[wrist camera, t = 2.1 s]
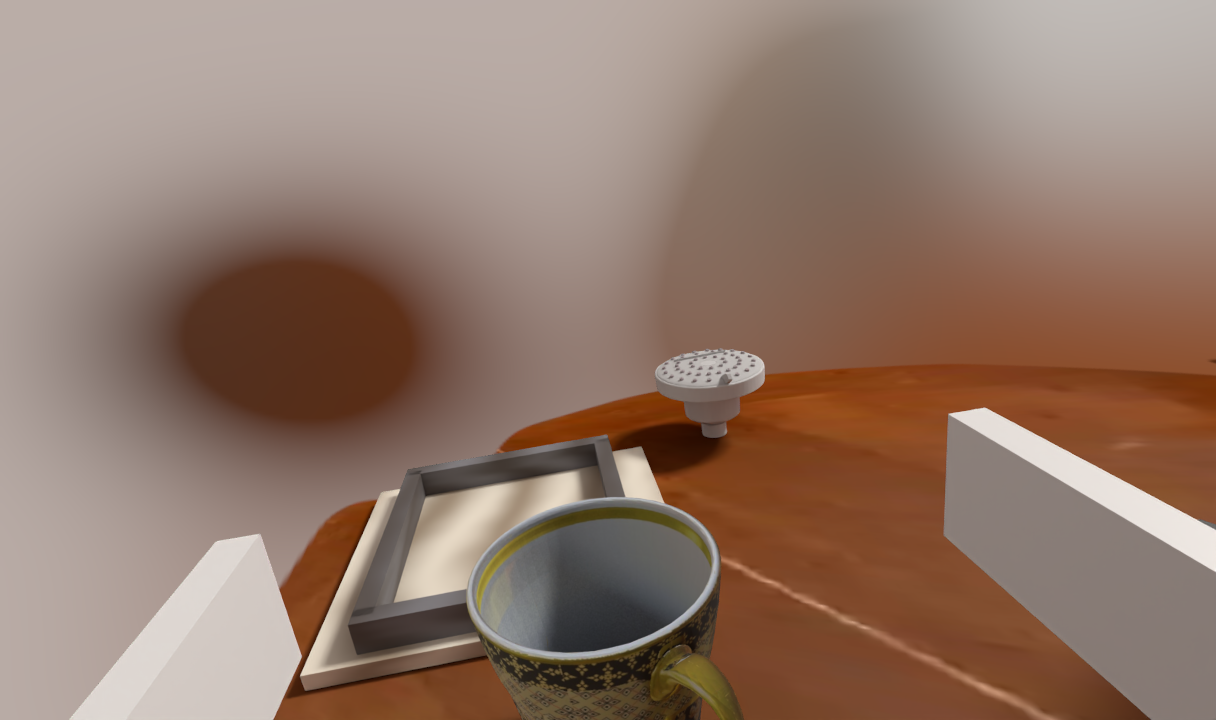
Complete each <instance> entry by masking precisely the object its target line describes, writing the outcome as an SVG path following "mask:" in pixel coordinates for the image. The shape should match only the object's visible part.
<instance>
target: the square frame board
mask: <svg viewBox="0 0 1216 720" xmlns="http://www.w3.org/2000/svg"><path fill="white" fill-rule="evenodd" d="M607 497H629V498H641V499H647V500H653V501H657V502H661V503H664V501H663V499H662V496H661V494H660V491H659V489H658V486H657V484H656V481H655V479H654V476H653V474H652V471H651V469H650V466H649V464H648V461H647V459H646V456H645V454H644V451H643V449H642V447H636V448H630V449H625V450H619V451H613V452H612V449H611V446H610V443H609V439H608V436H607V435H603V436H597V437H591V438H585V439H580V440H574V441H568V442H562V443H557V444H551V445H545V446H539V447H534V448H528V449H522V450H516V451H511V452H505V453H499V454H494V455H488V456H482V457H476V458H471V459H465V460H459V461H453V462H448V463H442V464H436V465H431V466H425V467H419V468H413V469H408V471H407V473H406V476H405V478H404V481H403V484H402V486H401V489H398V490H393V491H387V492H381V494H380V496H379V498H378V501H377V503H376V505H375V507H374V510H373V512H372V514H371V516H370V519H369V521H368V523H367V526H366V528H365V530H364V532H363V535H362V537H361V539H360V541H359V544H358V546H357V548H356V550H355V553H354V555H353V557H352V559H351V562H350V564H349V566H348V569H347V571H346V573H345V575H344V578H343V580H342V582H341V584H340V587H339V589H338V591H337V593H336V596H335V598H334V600H333V602H332V605H331V607H330V609H329V612H328V614H327V616H326V618H325V621H324V623H323V625H322V627H321V630H320V632H319V634H318V636H317V639H316V641H315V643H314V646H313V648H312V650H311V652H310V655H309V657H308V659H307V661H306V664H305V666H304V668H303V670H302V673H301V675H300V678H301V681H302V684H303V687H304V689H305V691H308V690H313V689H318V688H323V687H328V686H333V685H338V684H343V683H348V682H354V681H359V680H364V679H369V678H374V677H379V676H384V675H389V674H394V673H399V672H404V671H409V670H414V669H419V668H425V667H430V666H435V665H440V664H445V663H450V662H455V661H460V660H465V659H470V658H475V657H480V656H485V655H487V654H486V652H485V650H484V648H483V646H482V643H481V641H480V639H479V637H478V634H477V632H476V630H475V627H474V625H473V622H472V620H471V617H470V615H469V612H468V608H467V602H466V591H467V585H468V580H469V577H470V575H471V572H472V570H473V568H474V566H475V564H476V563H477V561H478V560H479V558H480V557H481V555H482V554H483V553H484V552H485V551H486V550H487V548H488V547H489V546H490V545H491V544H492V543H493V542H495V541H496V540H497V539H498V538H499V537H500V536H502V535H503V534H504V533H505V532H507V531H508V530H510V529H511V528H513V527H514V526H516V525H517V524H519V523H521V522H523V521H524V520H526V519H528V518H530V517H532V516H534V515H537V514H539V513H541V512H544V511H546V510H549V509H552V508H555V507H558V506H561V505H565V504H569V503H573V502H578V501H583V500H588V499H597V498H607Z"/></svg>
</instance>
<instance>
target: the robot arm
mask: <svg viewBox="0 0 1216 720" xmlns="http://www.w3.org/2000/svg"><path fill="white" fill-rule="evenodd" d="M944 536H945V537H946V538H947V539H948V540H950V541H951V542H952V543H953V544H954V545H955V546H956V547H957V548H959V549H960V550H961V551H962V552H963V553H964V554H965V555H966V556H968V557H969V558H970V559H971V560H972V561H973V562H974V563H975V564H977V565H978V566H979V567H980V568H981V569H982V570H983V571H984V572H986V573H987V574H988V575H989V576H990V577H991V578H992V579H993V580H995V581H996V582H997V583H998V584H999V585H1000V586H1001V587H1002V588H1004V589H1005V590H1006V591H1007V592H1008V593H1009V594H1010V595H1011V596H1013V597H1014V598H1015V599H1016V600H1017V601H1018V602H1019V603H1020V604H1022V605H1023V606H1024V607H1025V608H1026V609H1027V610H1028V611H1029V612H1031V613H1032V614H1033V615H1034V616H1035V617H1036V618H1037V619H1038V620H1040V621H1041V622H1042V623H1043V624H1044V625H1045V626H1046V627H1047V628H1049V629H1050V630H1051V631H1052V632H1053V633H1054V634H1055V635H1056V636H1058V637H1059V638H1060V639H1061V640H1062V641H1063V642H1064V643H1065V644H1067V645H1068V646H1069V647H1070V648H1071V649H1072V650H1073V651H1075V652H1076V653H1077V654H1078V655H1079V656H1080V657H1081V658H1082V659H1084V660H1085V661H1086V662H1087V663H1088V664H1089V665H1090V666H1091V667H1093V668H1094V669H1095V670H1096V671H1097V672H1098V673H1099V674H1100V675H1102V676H1103V677H1104V678H1105V679H1106V680H1107V681H1108V682H1109V683H1111V684H1112V685H1113V686H1114V687H1115V688H1116V689H1117V690H1118V691H1120V692H1121V693H1122V694H1123V695H1124V696H1125V697H1126V698H1127V699H1129V700H1130V701H1131V702H1132V703H1133V704H1134V705H1135V706H1136V707H1138V708H1139V709H1140V710H1141V711H1142V712H1143V713H1144V714H1145V715H1147V716H1148V717H1149V718H1150V719H1151V720H1216V525H1215V524H1212V523H1209V522H1206V521H1203V520H1196V519H1194V518H1192V517H1190V516H1188V515H1187V514H1185V513H1183V512H1181V511H1179V510H1177V509H1175V508H1173V507H1171V506H1170V505H1168V504H1166V503H1164V502H1162V501H1160V500H1158V499H1156V498H1154V497H1153V496H1151V495H1149V494H1147V493H1145V492H1143V491H1141V490H1139V489H1138V488H1136V487H1134V486H1132V485H1130V484H1128V483H1126V482H1124V481H1122V480H1121V479H1119V478H1117V477H1115V476H1113V475H1111V474H1109V473H1107V472H1105V471H1104V470H1102V469H1100V468H1098V467H1096V466H1094V465H1092V464H1090V463H1088V462H1087V461H1085V460H1083V459H1081V458H1079V457H1077V456H1075V455H1073V454H1071V453H1070V452H1068V451H1066V450H1064V449H1062V448H1060V447H1058V446H1056V445H1054V444H1053V443H1051V442H1049V441H1047V440H1045V439H1043V438H1041V437H1039V436H1037V435H1036V434H1034V433H1032V432H1030V431H1028V430H1026V429H1024V428H1022V427H1020V426H1019V425H1017V424H1015V423H1013V422H1011V421H1009V420H1007V419H1005V418H1003V417H1002V416H1000V415H998V414H996V413H994V412H992V411H990V410H988V409H987V408H981V409H975V410H969V411H963V412H958V413H952V414H948V437H947V464H946V490H945V517H944ZM301 657H302V656H301V653H300V650H299V647H298V644H297V641H296V638H295V635H294V632H293V629H292V627H291V624H290V621H289V618H288V615H287V612H286V609H285V606H284V603H283V600H282V597H281V594H280V591H279V588H278V585H277V582H276V579H275V577H274V574H273V570H272V568H271V565H270V562H269V559H268V556H267V553H266V550H265V547H264V544H263V541H262V538H261V535H260V534H256V535H250V536H244V537H239V538H233V539H227V540H221V541H216V542H215V543H214V545H213V546H212V547H211V548H210V549H209V551H208V552H207V553H206V554H205V556H204V557H203V558H202V559H201V560H200V562H199V563H198V564H197V565H196V566H195V568H194V569H193V570H192V571H191V572H190V574H189V575H188V576H187V577H186V578H185V580H184V581H183V582H182V583H181V585H180V586H179V587H178V588H177V589H176V591H175V592H174V593H173V594H172V595H171V597H170V598H169V599H168V600H167V602H166V603H165V604H164V605H163V606H162V608H161V609H160V610H159V611H158V612H157V614H156V615H155V616H154V617H153V619H152V620H151V621H150V622H149V624H148V625H147V626H146V627H145V629H144V630H143V631H142V632H141V633H140V634H139V635H138V637H137V638H136V639H135V640H134V642H133V643H132V644H131V645H130V646H129V648H128V649H127V650H126V651H125V653H124V654H123V655H122V656H121V657H120V659H119V660H118V661H117V662H116V663H115V665H114V666H113V667H112V668H111V669H110V671H109V672H108V673H107V674H106V676H105V677H104V678H103V679H102V681H101V682H100V683H99V684H98V685H97V686H96V688H95V689H94V690H93V692H92V693H91V694H90V695H89V696H88V697H87V699H86V700H85V701H84V702H83V704H82V705H81V706H80V707H79V708H78V710H77V711H76V712H75V713H74V714H73V716H72V717H71V718H70V719H69V720H273V719H274V717H275V714H276V712H277V710H278V708H279V706H280V703H281V701H282V699H283V697H284V695H285V692H286V690H287V688H288V686H289V684H290V682H291V679H292V677H293V675H294V673H295V671H296V668H297V666H298V664H299V662H300V660H301Z"/></svg>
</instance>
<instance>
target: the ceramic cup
mask: <svg viewBox="0 0 1216 720" xmlns="http://www.w3.org/2000/svg"><path fill="white" fill-rule="evenodd" d="M720 578H721V556H720V551H719V548H718V546H717V543H716V541H715V539H714V537H713V536H712V534H711V533H710V532H709V530H708V529H707V528H706V527H705V526H704V525H703V524H702V523H701V522H700V521H698V520H697V519H696V518H694V517H693V516H691V515H690V514H688V513H686V512H684V511H683V510H681V509H678V508H676V507H673V506H671V505H667V504H664V503H661V502H657V501H653V500H647V499H641V498H629V497H607V498H597V499H588V500H583V501H578V502H573V503H569V504H565V505H561V506H558V507H555V508H552V509H549V510H546V511H544V512H541V513H539V514H537V515H534V516H532V517H530V518H528V519H526V520H524V521H523V522H521V523H519V524H517V525H516V526H514V527H513V528H511V529H510V530H508V531H507V532H505V533H504V534H503V535H502V536H500V537H499V538H498V539H497V540H496V541H495V542H493V543H492V544H491V545H490V546H489V547H488V548H487V550H486V551H485V552H484V553H483V554H482V555H481V557H480V558H479V560H478V561H477V563H476V564H475V566H474V568H473V570H472V572H471V575H470V577H469V580H468V585H467V591H466V602H467V608H468V612H469V615H470V617H471V620H472V622H473V625H474V627H475V630H476V632H477V634H478V637H479V639H480V641H481V643H482V646H483V648H484V650H485V652H486V654H487V656H488V658H489V660H490V662H491V664H492V666H493V668H494V670H495V672H496V673H497V675H498V677H499V679H500V680H501V682H502V683H503V685H504V686H505V687H506V689H507V690H508V692H509V693H510V695H511V696H512V698H513V701H514V703H515V705H516V707H517V709H518V711H519V713H520V715H521V717H522V719H523V720H700V715H701V705H702V698H703V699H704V700H705V701H706V702H707V703H708V704H709V705H710V706H711V707H712V708H713V710H714V711H715V712H716V714H717V715H718V717H719V718H720V720H744V718H743V714H742V711H741V708H740V705H739V702H738V700H737V697H736V695H735V693H734V691H733V689H732V687H731V685H730V683H729V682H728V680H727V679H726V677H725V676H724V675H723V673H722V672H721V671H720V670H719V668H718V667H717V666H716V665H715V664H714V663H713V662H712V661H711V660H709V659H710V654H711V649H712V645H713V639H714V632H715V625H716V618H717V611H718V604H719V592H720Z"/></svg>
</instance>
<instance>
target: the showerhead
mask: <svg viewBox="0 0 1216 720" xmlns="http://www.w3.org/2000/svg"><path fill="white" fill-rule="evenodd" d="M655 379H656V385H657V389H658V391H659V392H660V393H661V394H662V395H664V396H666V397H668V398H671V399H675V400H679V401H684V406H685V413H686V416H687V417H688V418H689V419H691V420H693V421H696V422H699V423H701V425H702V434H703V435H704V436H706V437H709V438H717V437H721V436H724V435H725V434H726V433H727V429H726V421H728V420H730V419H732V418H734V417H735V416H737V415H738V413H739V411H740V399H739V397H741V396H744V395H747V394H749V393H751V392H753V391H755V390H756V389H758V388H759V387H760V386H761V385H762V384H763V383H764V380H765V371H764V363H763V361H762V360H761V359H760V358H758V357H757V356H755V355H752V354H749V353H745V352H744V351H741V352H740V351H734V350H733V349H731V350H722V349H718V350H709V349H706V350H705V351H700V352H696V351H692V353H688V354H681V356H678V357H673V358H671V359H670V360H668V361H666V362H664V363H663V364H661V365H660V366H659V367H658V368H657V369H656V371H655Z"/></svg>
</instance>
